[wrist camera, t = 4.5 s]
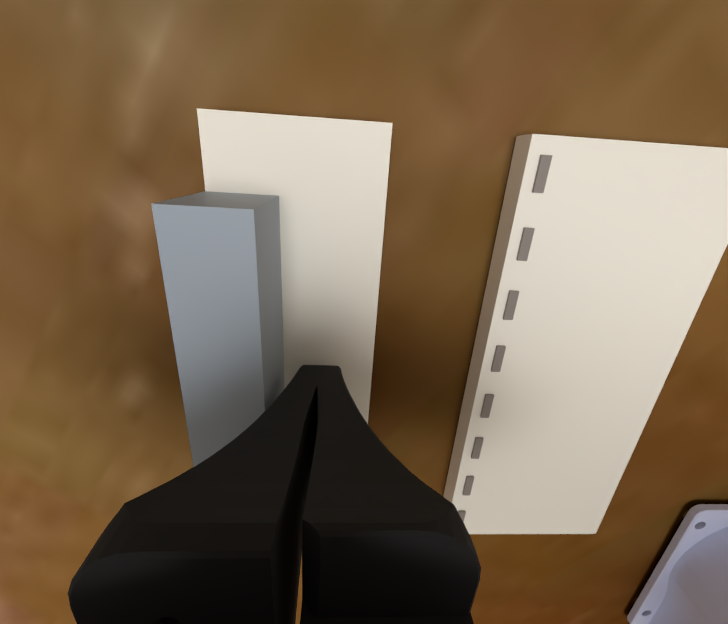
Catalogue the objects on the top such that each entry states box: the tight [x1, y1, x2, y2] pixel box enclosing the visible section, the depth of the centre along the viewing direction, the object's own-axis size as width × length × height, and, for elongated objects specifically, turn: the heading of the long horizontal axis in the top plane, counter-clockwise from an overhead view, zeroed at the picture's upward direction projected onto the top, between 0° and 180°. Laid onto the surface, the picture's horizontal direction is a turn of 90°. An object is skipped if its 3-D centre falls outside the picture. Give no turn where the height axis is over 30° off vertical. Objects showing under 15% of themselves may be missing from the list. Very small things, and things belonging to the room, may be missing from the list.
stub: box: [151, 109, 392, 467], centre depth 11 cm, size 16×5×4 cm, turn 176°
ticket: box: [443, 134, 728, 534], centre depth 14 cm, size 16×7×1 cm, turn 176°
